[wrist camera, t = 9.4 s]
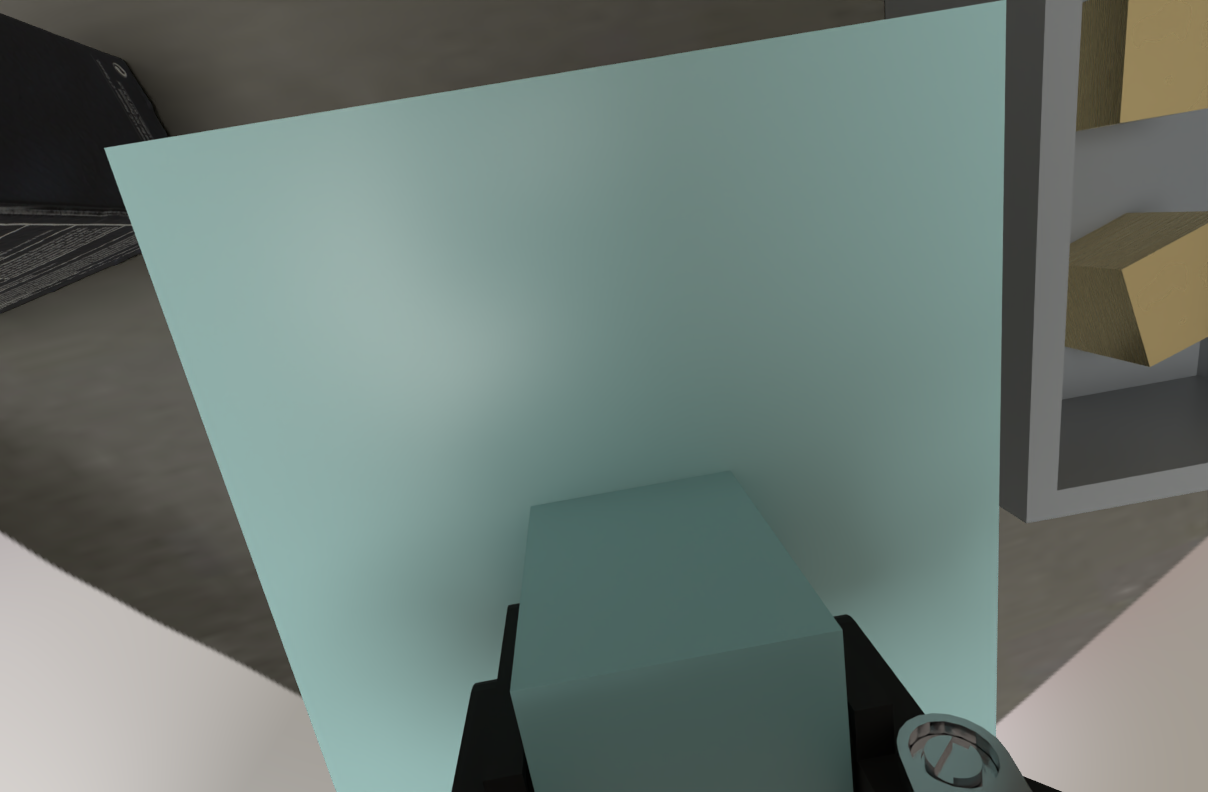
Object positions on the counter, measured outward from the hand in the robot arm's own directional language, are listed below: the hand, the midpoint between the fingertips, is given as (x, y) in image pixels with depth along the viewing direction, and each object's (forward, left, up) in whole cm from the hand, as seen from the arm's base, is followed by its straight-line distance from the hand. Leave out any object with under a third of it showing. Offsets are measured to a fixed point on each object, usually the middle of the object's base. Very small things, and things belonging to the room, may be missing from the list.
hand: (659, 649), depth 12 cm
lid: (0, 0, -2) cm, 2 cm away
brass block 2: (-2, +21, -14) cm, 26 cm away
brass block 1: (-10, +20, -14) cm, 27 cm away
